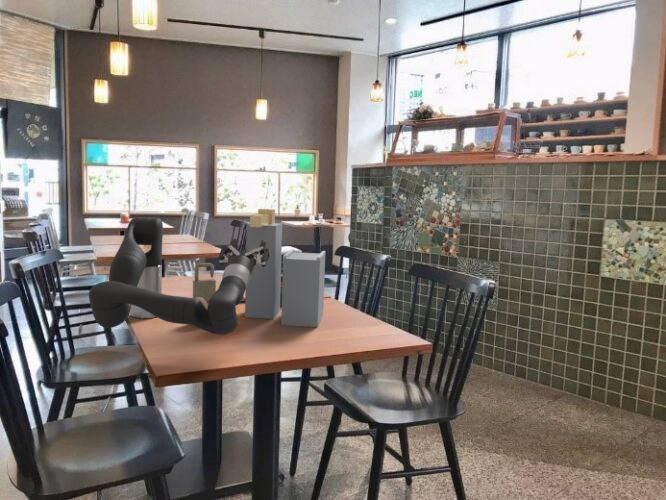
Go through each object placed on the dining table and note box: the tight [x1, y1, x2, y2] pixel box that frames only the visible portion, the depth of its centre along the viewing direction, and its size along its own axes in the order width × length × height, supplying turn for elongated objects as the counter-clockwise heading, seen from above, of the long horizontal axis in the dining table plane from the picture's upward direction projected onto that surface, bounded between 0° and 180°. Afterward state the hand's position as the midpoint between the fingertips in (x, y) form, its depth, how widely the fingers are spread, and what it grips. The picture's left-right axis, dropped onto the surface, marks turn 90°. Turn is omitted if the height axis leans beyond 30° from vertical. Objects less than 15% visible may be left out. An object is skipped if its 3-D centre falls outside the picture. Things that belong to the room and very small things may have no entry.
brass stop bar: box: [249, 208, 276, 227], centre depth 184 cm, size 20×5×5 cm, turn 175°
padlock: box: [192, 262, 217, 303], centre depth 209 cm, size 4×8×15 cm, turn 119°
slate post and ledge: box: [244, 222, 326, 328], centre depth 187 cm, size 20×26×32 cm
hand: (249, 241), depth 167 cm, fingers open, 8 cm apart
